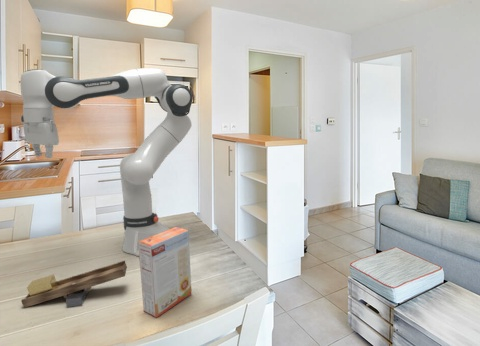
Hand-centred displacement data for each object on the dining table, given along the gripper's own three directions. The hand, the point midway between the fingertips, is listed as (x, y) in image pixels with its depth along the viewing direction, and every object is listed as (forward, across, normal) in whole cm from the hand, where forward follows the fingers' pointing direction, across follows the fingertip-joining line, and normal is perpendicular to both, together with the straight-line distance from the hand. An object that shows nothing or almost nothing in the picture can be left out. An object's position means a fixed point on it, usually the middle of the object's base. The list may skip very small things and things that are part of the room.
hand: (43, 157), depth 108 cm
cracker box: (+40, -55, -9) cm, 69 cm away
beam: (+37, -31, +5) cm, 48 cm away
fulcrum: (+40, -31, +5) cm, 50 cm away
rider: (+38, -25, +12) cm, 47 cm away
